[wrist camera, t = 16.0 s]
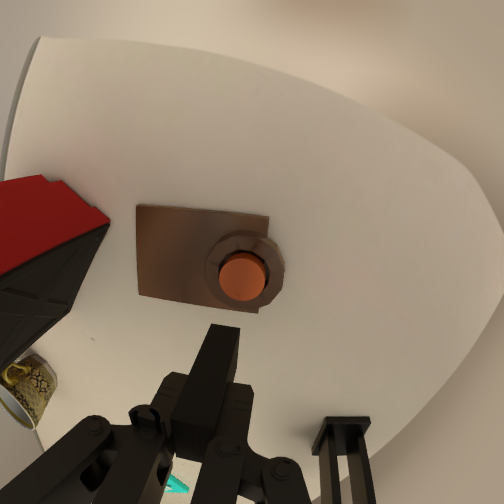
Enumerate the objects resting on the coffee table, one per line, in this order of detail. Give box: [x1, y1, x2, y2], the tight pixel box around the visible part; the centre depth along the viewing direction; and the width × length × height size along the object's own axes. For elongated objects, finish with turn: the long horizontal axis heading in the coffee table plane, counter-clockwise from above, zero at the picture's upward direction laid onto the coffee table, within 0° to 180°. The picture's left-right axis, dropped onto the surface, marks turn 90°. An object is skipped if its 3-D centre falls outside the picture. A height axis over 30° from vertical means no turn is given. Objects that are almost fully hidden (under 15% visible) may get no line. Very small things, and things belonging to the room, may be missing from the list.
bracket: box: [312, 417, 376, 504], centre depth 24 cm, size 8×6×19 cm
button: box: [219, 252, 266, 301], centre depth 24 cm, size 4×4×2 cm
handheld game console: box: [164, 474, 189, 493], centre depth 42 cm, size 10×16×1 cm, turn 117°
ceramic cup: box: [0, 355, 57, 430], centre depth 31 cm, size 13×10×10 cm
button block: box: [136, 204, 285, 314], centre depth 25 cm, size 14×9×2 cm, turn 85°
